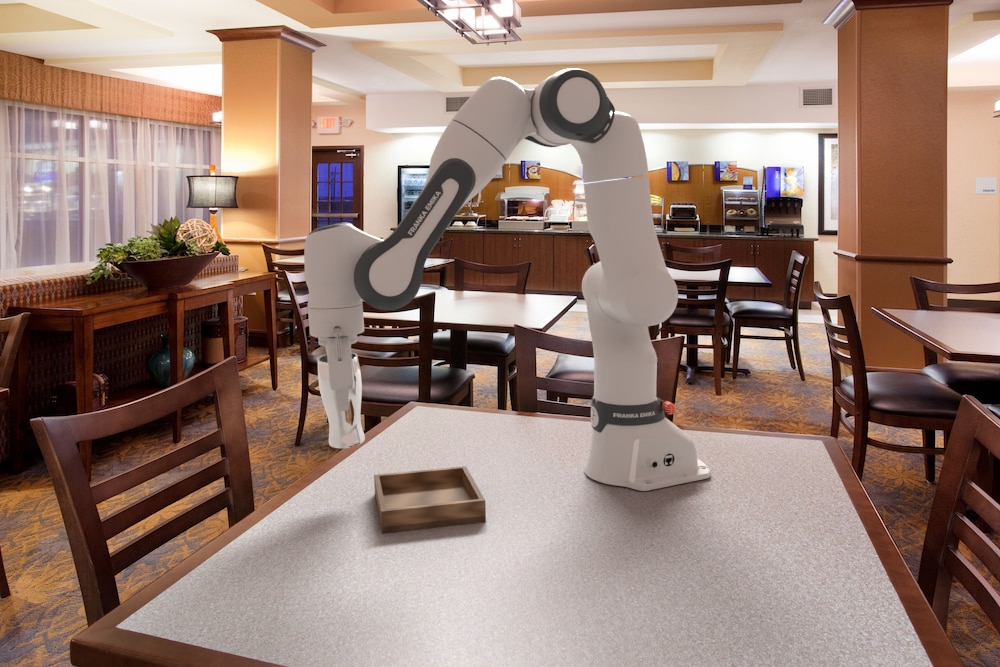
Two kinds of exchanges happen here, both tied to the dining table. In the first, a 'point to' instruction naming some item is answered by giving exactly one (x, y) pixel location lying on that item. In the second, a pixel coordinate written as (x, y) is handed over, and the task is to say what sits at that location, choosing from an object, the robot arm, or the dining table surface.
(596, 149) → the robot arm
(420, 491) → the walnut tray
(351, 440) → the beer glass
